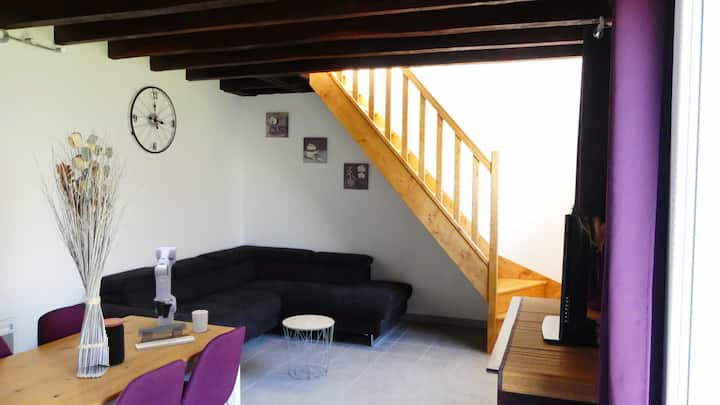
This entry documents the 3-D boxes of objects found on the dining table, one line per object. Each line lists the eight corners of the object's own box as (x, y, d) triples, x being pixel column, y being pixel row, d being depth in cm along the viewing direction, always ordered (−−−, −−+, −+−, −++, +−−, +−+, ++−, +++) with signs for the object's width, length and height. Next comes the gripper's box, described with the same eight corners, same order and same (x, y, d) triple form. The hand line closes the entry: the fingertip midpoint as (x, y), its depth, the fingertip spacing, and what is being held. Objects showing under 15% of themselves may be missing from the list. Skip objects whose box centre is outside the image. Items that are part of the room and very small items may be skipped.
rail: (137, 334, 255) (137, 328, 255) (184, 328, 267) (184, 322, 266) (138, 336, 253) (138, 330, 253) (186, 329, 264) (185, 323, 264)
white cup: (205, 333, 272) (205, 313, 271) (190, 333, 272) (189, 313, 271) (210, 328, 280) (209, 310, 279) (195, 328, 280) (195, 310, 279)
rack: (140, 341, 258) (140, 330, 257) (181, 335, 267) (180, 325, 267) (142, 345, 252) (142, 333, 252) (183, 338, 262) (183, 328, 262)
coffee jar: (93, 362, 228) (92, 321, 228) (118, 356, 236) (117, 316, 235) (103, 368, 221) (102, 326, 220) (129, 362, 229) (128, 321, 228)
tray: (135, 347, 249) (135, 344, 249) (191, 338, 263) (191, 335, 263) (137, 351, 243) (137, 348, 243) (195, 342, 257) (195, 339, 257)
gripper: (149, 288, 261) (149, 316, 261) (159, 291, 250) (159, 320, 250) (163, 287, 266) (164, 314, 265) (174, 289, 255) (174, 318, 254)
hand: (162, 317), depth 258 cm, fingers open, 7 cm apart
